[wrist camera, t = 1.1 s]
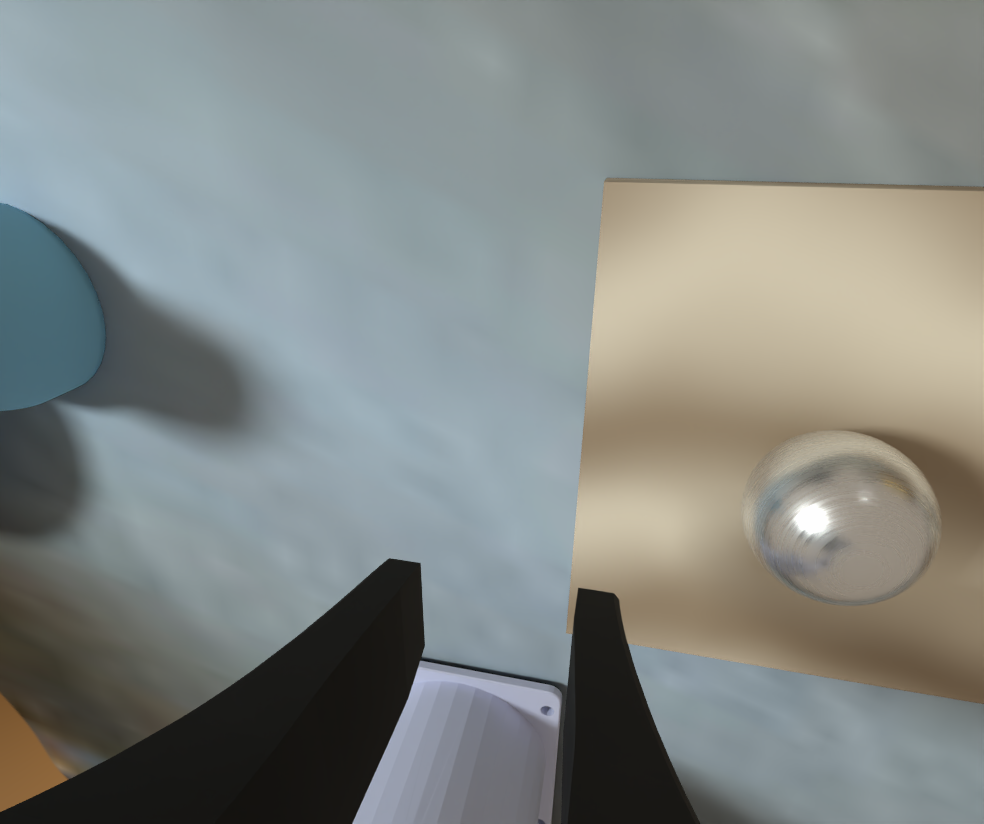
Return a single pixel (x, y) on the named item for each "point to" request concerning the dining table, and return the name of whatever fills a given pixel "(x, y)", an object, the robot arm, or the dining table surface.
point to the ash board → (782, 412)
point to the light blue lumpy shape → (43, 315)
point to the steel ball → (841, 518)
